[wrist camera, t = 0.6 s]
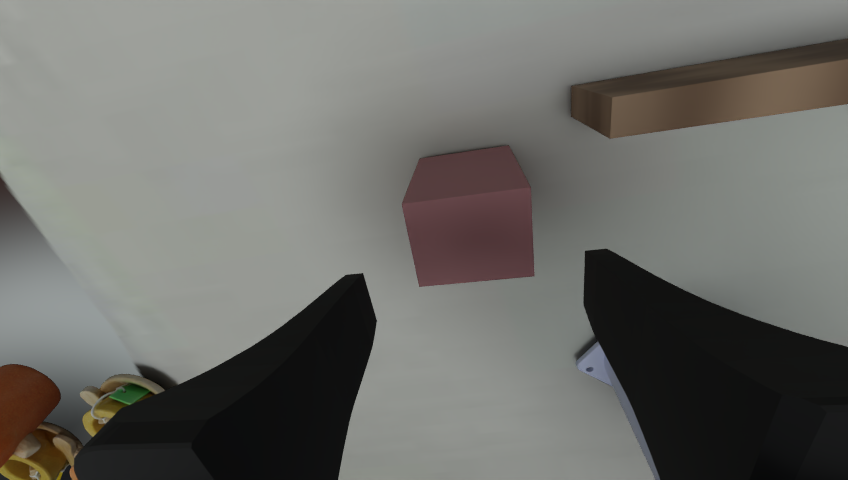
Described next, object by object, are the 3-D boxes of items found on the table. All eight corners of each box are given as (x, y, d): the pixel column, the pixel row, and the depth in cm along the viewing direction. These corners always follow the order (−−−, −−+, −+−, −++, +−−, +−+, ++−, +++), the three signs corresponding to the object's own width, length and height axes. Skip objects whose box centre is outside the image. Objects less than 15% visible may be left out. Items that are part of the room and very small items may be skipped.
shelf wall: (1016, 10, 15) (1279, -11, 10) (997, 49, 16) (1236, 47, 11) (571, 85, 18) (612, 97, 13) (571, 116, 19) (609, 138, 14)
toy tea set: (40, 454, 40) (-74, 563, 31) (-45, 350, 33) (-223, 455, 24) (264, 475, 38) (207, 598, 29) (225, 369, 31) (134, 491, 22)
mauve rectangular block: (508, 145, 20) (530, 187, 14) (513, 212, 21) (534, 276, 15) (419, 158, 20) (401, 204, 14) (430, 221, 22) (419, 286, 16)
